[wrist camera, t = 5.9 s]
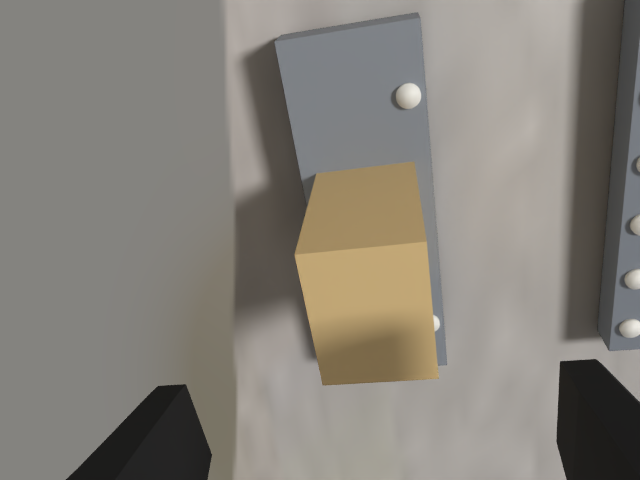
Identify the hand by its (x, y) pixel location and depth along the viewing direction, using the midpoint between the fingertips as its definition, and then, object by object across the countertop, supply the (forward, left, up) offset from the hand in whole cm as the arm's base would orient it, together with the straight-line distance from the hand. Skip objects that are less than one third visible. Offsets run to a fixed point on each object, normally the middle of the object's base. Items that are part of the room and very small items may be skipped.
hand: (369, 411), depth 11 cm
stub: (0, 0, -9) cm, 9 cm away
